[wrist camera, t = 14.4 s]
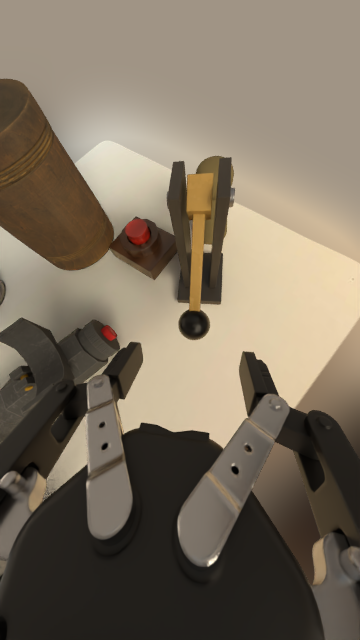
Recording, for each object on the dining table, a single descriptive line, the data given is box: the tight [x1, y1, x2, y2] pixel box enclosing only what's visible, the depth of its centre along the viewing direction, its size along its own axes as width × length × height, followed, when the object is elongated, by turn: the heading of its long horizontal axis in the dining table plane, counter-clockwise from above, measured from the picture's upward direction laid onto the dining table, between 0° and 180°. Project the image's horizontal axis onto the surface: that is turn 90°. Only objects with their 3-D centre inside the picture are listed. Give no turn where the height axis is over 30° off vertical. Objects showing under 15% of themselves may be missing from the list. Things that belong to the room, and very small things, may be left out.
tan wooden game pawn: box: [196, 156, 234, 244], centre depth 27 cm, size 6×6×11 cm
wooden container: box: [0, 79, 114, 270], centre depth 25 cm, size 15×15×22 cm
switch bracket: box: [167, 157, 235, 304], centre depth 22 cm, size 9×7×16 cm
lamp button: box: [125, 219, 150, 245], centre depth 28 cm, size 4×4×2 cm
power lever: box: [179, 173, 214, 340], centre depth 17 cm, size 15×3×3 cm, turn 173°
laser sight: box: [0, 318, 120, 443], centre depth 22 cm, size 10×22×10 cm, turn 129°
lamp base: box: [109, 217, 177, 280], centre depth 30 cm, size 10×8×4 cm
